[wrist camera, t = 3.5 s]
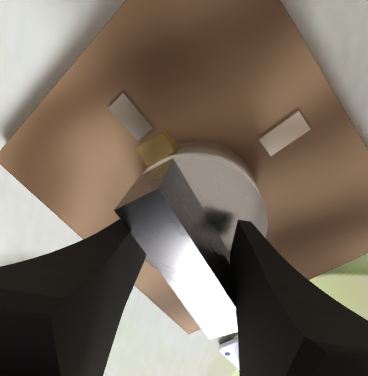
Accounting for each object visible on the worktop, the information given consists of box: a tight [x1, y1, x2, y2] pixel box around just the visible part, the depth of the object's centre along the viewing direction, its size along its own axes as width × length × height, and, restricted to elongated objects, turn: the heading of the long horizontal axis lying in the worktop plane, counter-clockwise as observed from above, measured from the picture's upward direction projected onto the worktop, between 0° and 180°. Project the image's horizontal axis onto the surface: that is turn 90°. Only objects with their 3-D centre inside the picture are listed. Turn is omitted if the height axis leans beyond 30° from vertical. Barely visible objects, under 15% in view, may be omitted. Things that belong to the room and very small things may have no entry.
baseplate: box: [0, 0, 368, 334], centre depth 16 cm, size 20×18×2 cm
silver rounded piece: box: [114, 129, 268, 339], centre depth 12 cm, size 8×7×7 cm
